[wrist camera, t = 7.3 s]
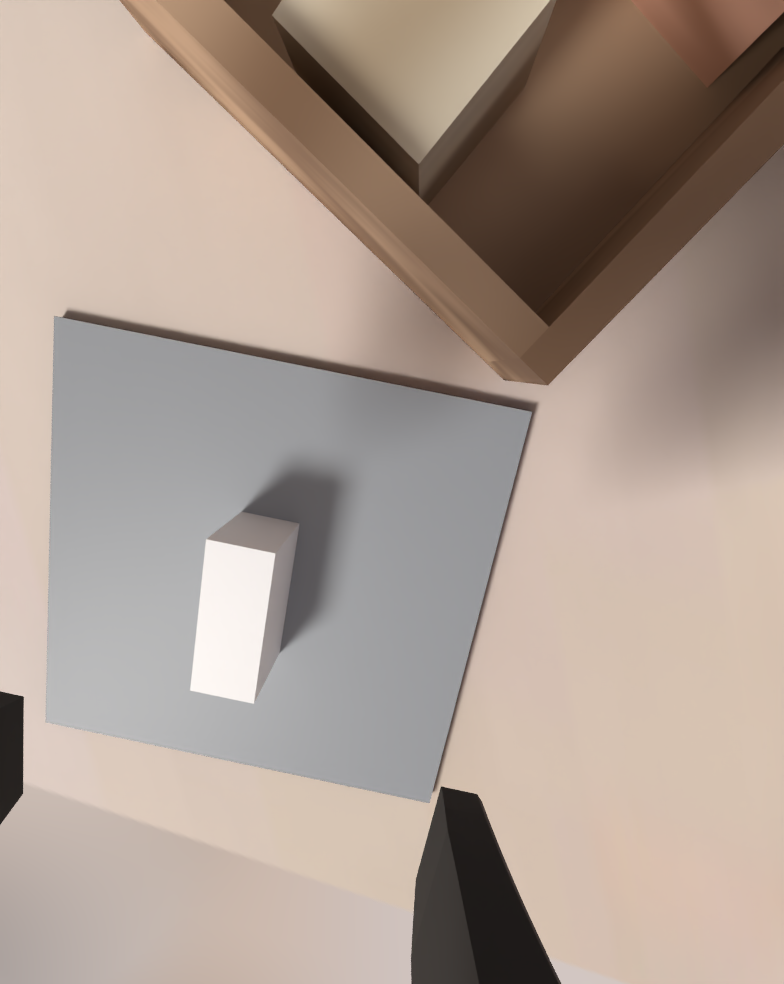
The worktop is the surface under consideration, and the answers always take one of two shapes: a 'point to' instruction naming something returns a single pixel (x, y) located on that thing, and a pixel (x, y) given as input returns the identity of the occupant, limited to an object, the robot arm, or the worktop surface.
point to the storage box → (515, 167)
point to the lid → (266, 556)
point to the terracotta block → (710, 29)
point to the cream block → (416, 72)
